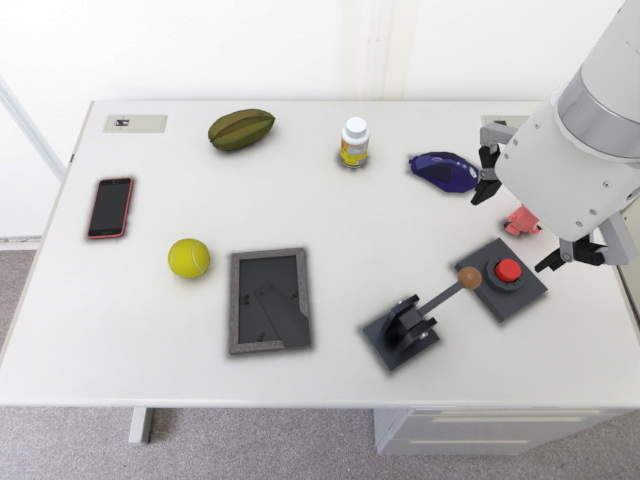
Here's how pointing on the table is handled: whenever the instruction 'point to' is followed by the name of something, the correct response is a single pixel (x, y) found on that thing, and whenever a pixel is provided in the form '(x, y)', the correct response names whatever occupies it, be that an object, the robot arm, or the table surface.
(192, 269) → the tennis ball
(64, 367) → the table surface
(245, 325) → the picture frame
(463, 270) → the switch lever
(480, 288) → the grey base plate
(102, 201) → the smartphone
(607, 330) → the table surface
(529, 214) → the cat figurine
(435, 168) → the computer mouse
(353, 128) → the supplement bottle
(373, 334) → the switch bracket
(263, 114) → the fruit
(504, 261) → the button
